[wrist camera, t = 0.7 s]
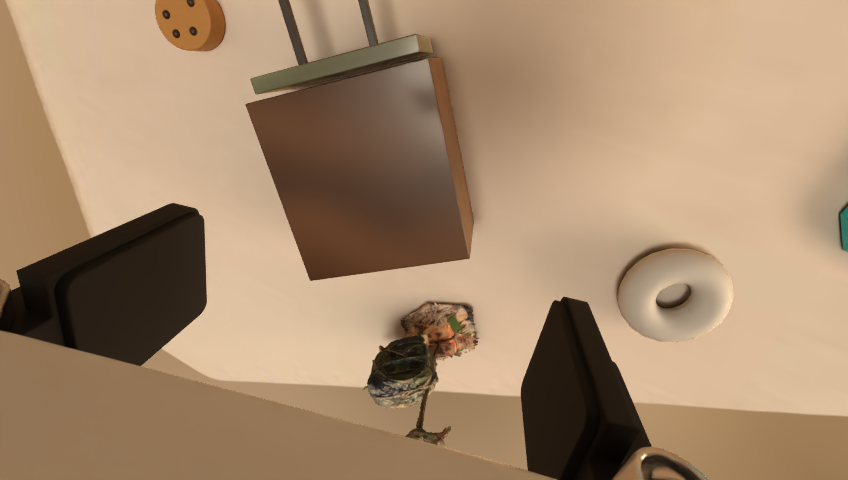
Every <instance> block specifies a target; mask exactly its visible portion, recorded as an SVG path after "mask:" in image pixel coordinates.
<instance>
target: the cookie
mask: <svg viewBox="0 0 848 480" xmlns="http://www.w3.org/2000/svg"><path fill="white" fill-rule="evenodd" d="M155 14H156V19H157V23H158V25H159V28H160V30H161V31H162V33H163V35H164V36H165V37H166V38H167V39H168V41H170V42H171V43H172V44H173V45H175V46H176V47H178V48H180V49H183V50H189V51H208V50H212V49H214V48H215V47H217V46H218V45H219V44H220V42H221V41H222V39H223V36H224V33H225V19H224V15H223V12H222V10H221V7H220V6H219V4H218V2H217V1H216V0H156V4H155Z"/></svg>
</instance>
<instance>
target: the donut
mask: <svg viewBox="0 0 848 480" xmlns="http://www.w3.org/2000/svg"><path fill="white" fill-rule="evenodd" d="M673 284H686V285H688V286H689V287H690V288H691V295H690V296H689V298H688V299H687V300H686V301H685V302H684V303H683V304H681V305H679V306H677V307H674V308H661V307H659V306H658V305H657V304H656V297H657V296H658V294H659V293H660V292H661V291H662V290H663V289H664V288H666V287H668V286H670V285H673ZM733 296H734V292H733V285H732V279H731V278H730V276H729V275H728V273H727V271H726V270H725V268H724V267H723V265H722V264H721V263H719V262H718V261H717V260H715V259H714V258H712V257H711V256H710V255H708V254H706V253H703V252H699V251H696V250H693V249H683V248H671V249H666V250H662V251H658V252H654V253H652V254H650V255H648V256H646V257H645V258H643V259H641V260H639V261H638V262H637V263H636V264H635V265H634V266H633V267H632V268H631V269H630V270H628V271H627V273H626V275H625V277H624V279H623V280H622V282H621V284H620V287H619V294H618V303H619V307H620V311H621V315H622V316H623V317H624V319H625V320H626V322H627V323H628V324H629V326H630V327H631V328H632V329H634V330H635V331H637V332H638V333H640V334H641V335H643V336H645V337H647V338H651V339H654V340H657V341H660V342H682V341H687V340H692V339H695V338H697V337H700V336H702V335H704V334H706V333H708V332H710V331H711V330H712V329H714V328H715V327H716V326H717V325H719V324H720V323H721V322H722V320H723V319H724V318H725V316H726V315H727V313H728V312H729V311H730V307H731V304H732V300H733Z"/></svg>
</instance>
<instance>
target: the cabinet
mask: <svg viewBox="0 0 848 480" xmlns="http://www.w3.org/2000/svg"><path fill="white" fill-rule="evenodd" d="M246 107H247V110H248V113H249V115H250V118H251V121H252V124H253V126H254V129H255V132H256V134H257V137H258V140H259V143H260V145H261V148H262V151H263V153H264V156H265V159H266V162H267V164H268V167H269V170H270V173H271V175H272V178H273V181H274V183H275V186H276V189H277V192H278V194H279V197H280V200H281V202H282V205H283V208H284V211H285V213H286V216H287V219H288V222H289V224H290V227H291V230H292V232H293V235H294V238H295V241H296V243H297V246H298V249H299V251H300V254H301V257H302V260H303V262H304V265H305V268H306V270H307V273H308V276H309V279H310V281H313V280H320V279H327V278H334V277H341V276H348V275H356V274H363V273H370V272H377V271H384V270H391V269H399V268H406V267H413V266H420V265H427V264H434V263H442V262H449V261H456V260H463V259H469V258H470V251H471V242H472V234H473V225H474V219H473V214H472V209H471V204H470V198H469V193H468V188H467V183H466V178H465V173H464V167H463V162H462V157H461V152H460V147H459V142H458V137H457V131H456V126H455V121H454V116H453V111H452V106H451V101H450V95H449V90H448V85H447V80H446V75H445V70H444V64H443V59H442V58H424V59H420V60H416V61H412V62H408V63H404V64H400V65H397V66H393V67H389V68H385V69H381V70H377V71H373V72H369V73H365V74H361V75H357V76H353V77H349V78H346V79H342V80H338V81H334V82H330V83H326V84H322V85H318V86H314V87H310V88H306V89H302V90H299V91H295V92H291V93H287V94H283V95H279V96H275V97H271V98H267V99H263V100H259V101H255V102H251V103H248V104H246Z"/></svg>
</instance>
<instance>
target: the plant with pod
mask: <svg viewBox="0 0 848 480" xmlns="http://www.w3.org/2000/svg"><path fill="white" fill-rule="evenodd" d="M472 312H473V310H472V309H471V308H469V307H468V306H465V305H464V306H463V305H461V306H460V305H454V304H453V305H450V304H449V305H445V304H443V305H441V304H439V306H438V305H437V304H436V303H435V302H434V307H433V306H432V304H431V303H429V304H425V306H424V305H423V306H422V307H420V309H418V310H417V311H416V312H414V313H410V315H409V316H407V317H408V318H406V317H405V319H404V318H403V319H404V320H401V322H402V323H401V324H402V326H403V328H404V329H405V330H404V331H405V334H406V335H407V336H408V337H407V338H403V339H400V340H395V341H393V342H391V343H389V345H388V346H387V347H385V348H384V347H382V346H379V351H380V352H379V353H378V354H377V356H376V358H375V360H373V365H372V371H371V375H370V377H369V379H368V383H367V384H368V385H367V386H365V387H364V390H365V389H367V387H368V391H369V393H370V395H371V396H372V397H373V399H374V401H375V403H376V404H378V405H380V406H383V407H385V408H402V407H403V408H404V407H409V406H412V405H415V404H417V403H419V402H421V401H422V403H421V407H420V409H421V411H420V415H419V418H418V421H417V425H416V426H417V428H416V429H413V430H412V431H410V432H409V434H408V435H406V436H405V437H409V438H413V439H416V440H420V441H424V442H428V443H431V444H435V445H439V446H442V447H445V444H444V441H443V439H444V437H446V436H447V434H448V432H449V431H450V430H451V427H446V428H445V429H444V430H443V432H441V433H429V432H426V431H425V430H423V429H422V426H423V420H424V412H425V406H426V401H427V397H428V395H429V394H431V393H432V391H433V389H434V388H435V384H436V383H437V382H438V377H437V373H436V371H435V370H436V366H437V362H436V360H438V359H440V360H441V359H442V360H443V361H444V359H446V358H448V356H449V357H453V355H455V356H459V357H460V356H461V354H462V353H463V352H464V353H467V350H468V351H470V350H471V349H475V346H476V345H477V344H476V343H478V341H476V339H478V338H472V337H473V336H474V335H475V334H476V333H472V332H473V331H474V330H475V329H474V328H473V327H472V326H473V325H475V324H474V323H473V320H471V319H472V317H471V316H474V315H473V314H472ZM445 357H446V358H445Z"/></svg>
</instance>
